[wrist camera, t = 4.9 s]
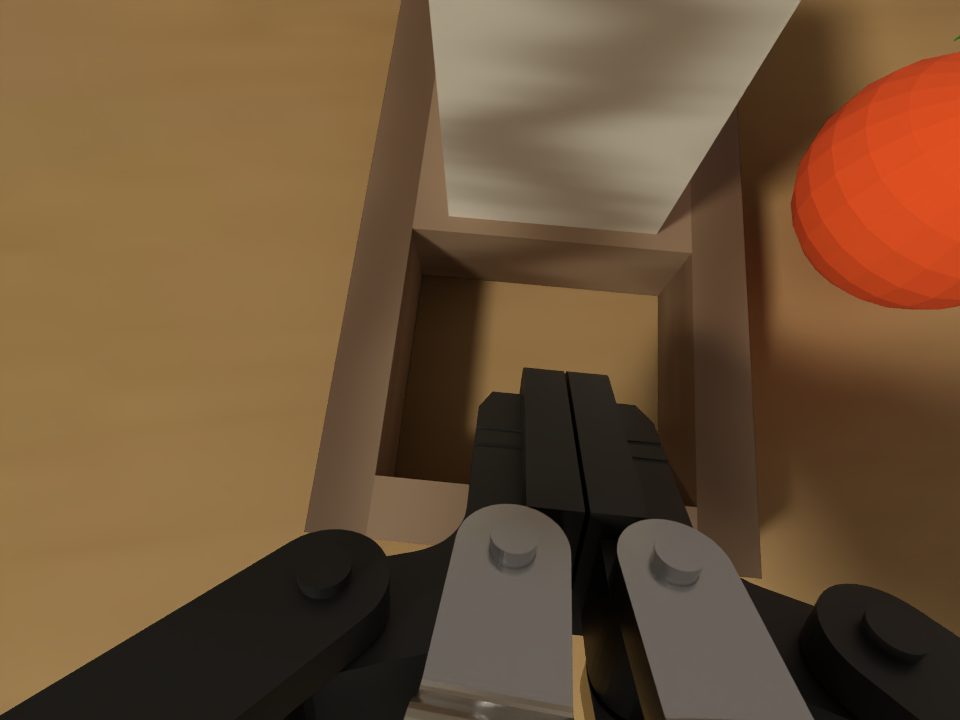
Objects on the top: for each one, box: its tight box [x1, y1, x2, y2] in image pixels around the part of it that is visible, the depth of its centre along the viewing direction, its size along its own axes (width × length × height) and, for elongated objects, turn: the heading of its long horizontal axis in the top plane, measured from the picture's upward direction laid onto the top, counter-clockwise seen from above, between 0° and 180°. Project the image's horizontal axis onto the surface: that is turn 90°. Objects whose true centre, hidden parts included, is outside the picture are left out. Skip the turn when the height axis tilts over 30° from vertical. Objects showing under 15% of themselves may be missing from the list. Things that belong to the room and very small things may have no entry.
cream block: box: [429, 0, 801, 234], centre depth 13 cm, size 6×6×8 cm
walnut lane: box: [304, 0, 762, 579], centre depth 19 cm, size 11×30×3 cm, turn 174°
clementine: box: [791, 36, 960, 309], centre depth 16 cm, size 8×7×7 cm
